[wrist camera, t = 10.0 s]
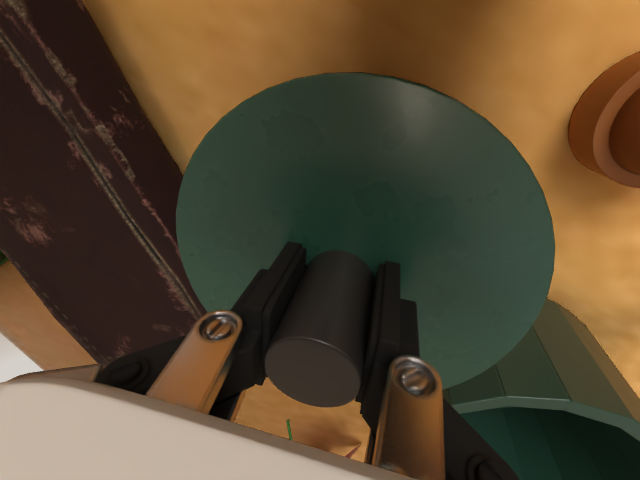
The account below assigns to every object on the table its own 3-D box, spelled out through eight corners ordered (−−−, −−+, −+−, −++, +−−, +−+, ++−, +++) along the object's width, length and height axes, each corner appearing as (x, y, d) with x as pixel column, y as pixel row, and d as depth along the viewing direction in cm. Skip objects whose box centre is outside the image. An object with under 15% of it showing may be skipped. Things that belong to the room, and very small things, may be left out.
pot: (345, 330, 27) (326, 426, 19) (606, 244, 18) (742, 356, 11) (417, 422, 31) (422, 530, 23) (658, 385, 22) (782, 537, 15)
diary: (92, -8, 18) (-3, -33, 14) (271, 309, 27) (248, 353, 23) (-49, 111, 25) (-142, 120, 20) (134, 332, 34) (96, 369, 30)
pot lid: (134, 204, 14) (-4, 271, 9) (428, -55, 8) (474, -271, 3) (308, 398, 18) (275, 515, 13) (595, 334, 12) (730, 513, 7)
